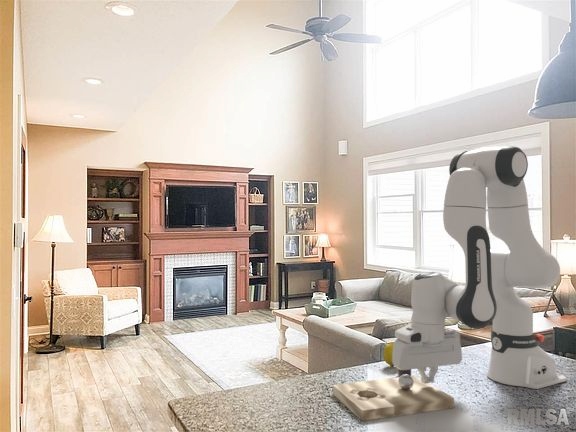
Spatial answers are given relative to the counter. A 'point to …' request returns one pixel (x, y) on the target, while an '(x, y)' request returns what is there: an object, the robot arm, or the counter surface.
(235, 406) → the counter surface
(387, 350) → the lemon
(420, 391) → the beige flat wooden board
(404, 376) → the ball
